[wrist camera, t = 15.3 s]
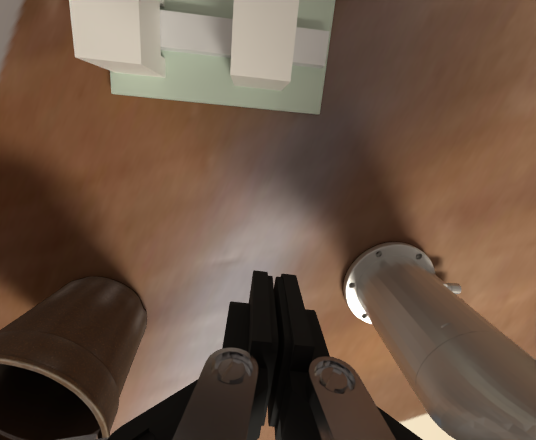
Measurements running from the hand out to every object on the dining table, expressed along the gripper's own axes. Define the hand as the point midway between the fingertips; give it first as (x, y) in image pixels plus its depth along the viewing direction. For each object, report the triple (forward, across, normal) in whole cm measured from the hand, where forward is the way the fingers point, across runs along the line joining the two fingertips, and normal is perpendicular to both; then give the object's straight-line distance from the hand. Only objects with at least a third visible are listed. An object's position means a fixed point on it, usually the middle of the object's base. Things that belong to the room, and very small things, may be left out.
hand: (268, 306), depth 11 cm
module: (+23, +2, -15) cm, 28 cm away
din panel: (+24, +6, -15) cm, 29 cm away
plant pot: (+25, +19, +20) cm, 37 cm away
